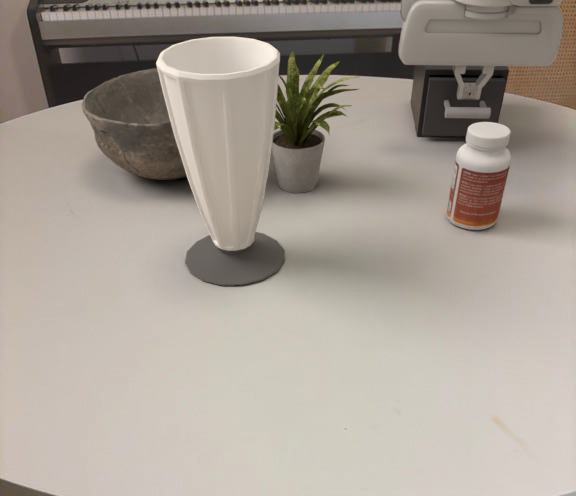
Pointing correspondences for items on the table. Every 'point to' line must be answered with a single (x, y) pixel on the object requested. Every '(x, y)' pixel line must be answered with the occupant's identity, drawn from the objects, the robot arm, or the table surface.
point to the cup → (225, 149)
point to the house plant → (302, 127)
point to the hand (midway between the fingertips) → (467, 98)
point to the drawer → (459, 105)
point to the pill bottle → (479, 176)
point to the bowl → (135, 125)
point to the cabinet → (421, 88)
